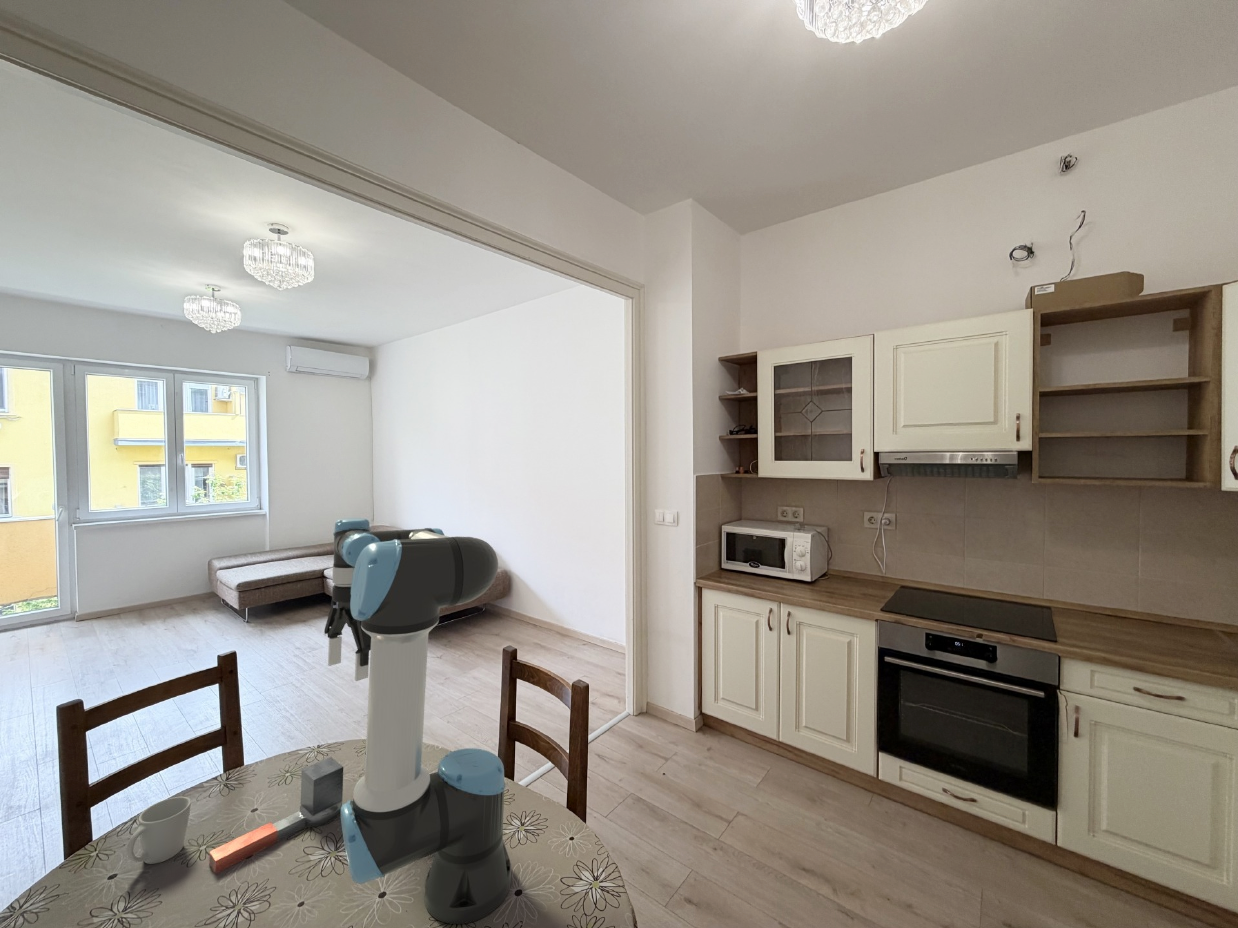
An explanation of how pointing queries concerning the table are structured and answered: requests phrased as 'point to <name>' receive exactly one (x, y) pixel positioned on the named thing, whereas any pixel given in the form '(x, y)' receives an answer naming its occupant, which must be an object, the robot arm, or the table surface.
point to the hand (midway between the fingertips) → (347, 671)
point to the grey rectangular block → (321, 785)
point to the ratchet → (267, 836)
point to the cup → (161, 830)
